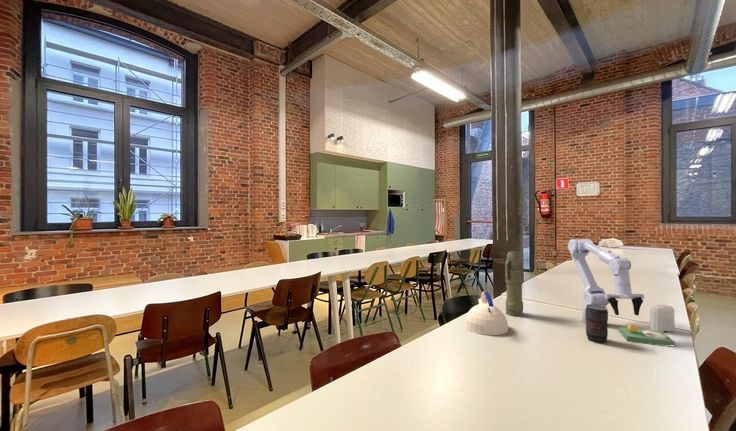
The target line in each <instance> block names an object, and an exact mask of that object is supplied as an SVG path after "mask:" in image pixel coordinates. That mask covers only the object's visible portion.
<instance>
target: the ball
mask: <svg viewBox="0 0 736 431" xmlns="http://www.w3.org/2000/svg"><path fill="white" fill-rule="evenodd" d="M626 328H627V329H628V330H629V331H630V332H632V333H635V332H637V330H638V329H639V328H638V326H637V325H635V324H628V325H627V326H626Z"/></svg>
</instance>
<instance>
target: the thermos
mask: <svg viewBox="0 0 736 431" xmlns="http://www.w3.org/2000/svg"><path fill="white" fill-rule="evenodd" d="M523 271H524V270H523V260H522V255H521V252H520V251H518V250H509V251H507V254H506V260H505V263H504V277H505V283H506V284H505V285H506V299H505V314H506V315H508V316H510V317H523V316H524V313H523V312H524V302H523V283H524V279H523V278H524V277H523V276H524V275H523V274H524V273H523Z"/></svg>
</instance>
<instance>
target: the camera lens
mask: <svg viewBox="0 0 736 431" xmlns="http://www.w3.org/2000/svg"><path fill="white" fill-rule="evenodd" d="M608 321H609V310H608V308H607V307H604V306H600V305H593V304H590V305H587V307H586V324H585V334H586V336H587V340H588V341H589V342H591V343H596V344H605V343H606V342H607V340H608V336H609V335H608V334H609V332H608V330H609V329H608V327H609V326H608V327H607V325H608Z"/></svg>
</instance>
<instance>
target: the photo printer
mask: <svg viewBox="0 0 736 431" xmlns="http://www.w3.org/2000/svg"><path fill="white" fill-rule="evenodd" d="M649 330H651V331H660V332H663V333H665V332H664V331H668V332H674V331H675V309H674V307H673V306H672V305H671V306H670V305H667V304H661V303H660V304H656V305H653V306H651V307H650V309H649ZM673 330H674V331H673Z"/></svg>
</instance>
